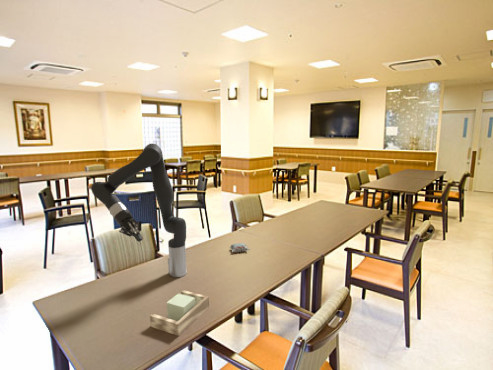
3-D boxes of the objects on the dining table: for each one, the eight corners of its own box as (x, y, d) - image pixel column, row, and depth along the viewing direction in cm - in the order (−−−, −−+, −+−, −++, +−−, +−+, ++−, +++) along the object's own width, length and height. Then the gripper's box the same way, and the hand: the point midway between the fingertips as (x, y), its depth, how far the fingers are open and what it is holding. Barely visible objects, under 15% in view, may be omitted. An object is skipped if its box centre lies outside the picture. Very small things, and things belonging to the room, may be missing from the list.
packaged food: (249, 252, 197) (249, 245, 196) (231, 254, 194) (231, 247, 194) (246, 248, 205) (246, 241, 205) (229, 249, 203) (229, 243, 202)
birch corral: (150, 326, 121) (149, 315, 120) (183, 299, 141) (183, 290, 140) (179, 336, 115) (178, 324, 114) (209, 306, 135) (208, 296, 134)
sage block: (167, 319, 126) (166, 302, 125) (179, 309, 133) (178, 293, 132) (184, 325, 122) (183, 307, 121) (195, 314, 129) (195, 297, 128)
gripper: (112, 212, 138) (134, 240, 135) (134, 205, 150) (154, 231, 147) (106, 221, 142) (126, 249, 138) (127, 214, 153) (147, 240, 150)
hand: (141, 240), depth 143 cm, fingers closed
